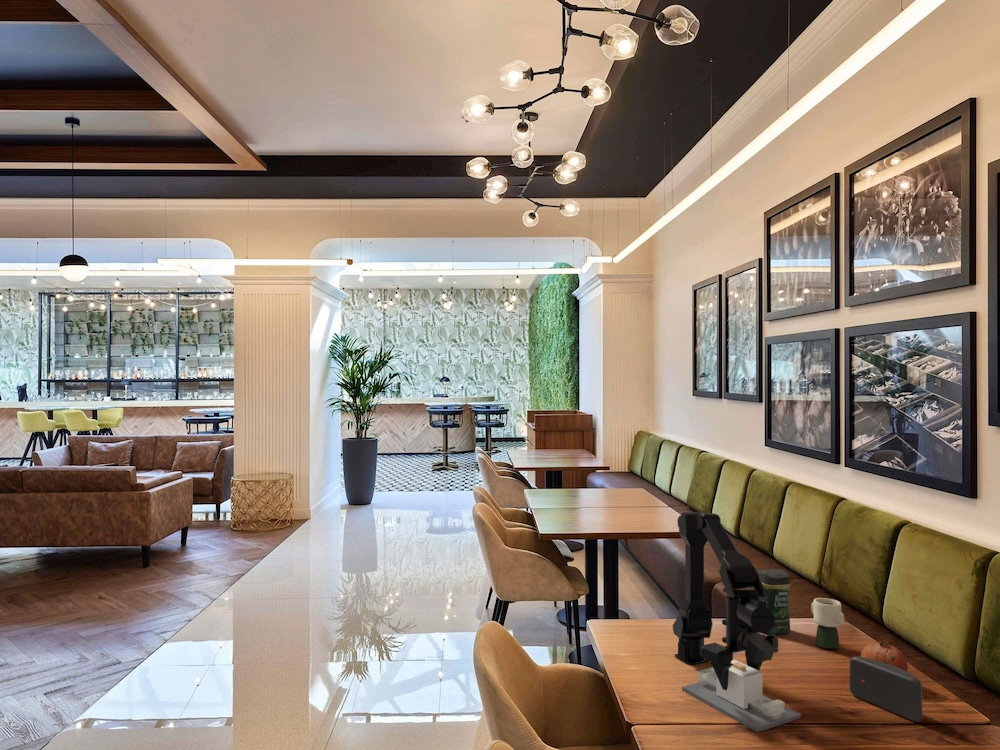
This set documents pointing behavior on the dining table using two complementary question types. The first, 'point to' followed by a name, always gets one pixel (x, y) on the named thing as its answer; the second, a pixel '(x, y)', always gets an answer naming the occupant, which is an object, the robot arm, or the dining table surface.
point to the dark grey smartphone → (886, 687)
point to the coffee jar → (777, 597)
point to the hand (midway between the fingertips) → (738, 685)
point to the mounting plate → (738, 708)
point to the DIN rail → (767, 709)
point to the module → (742, 685)
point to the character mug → (827, 621)
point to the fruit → (885, 654)
